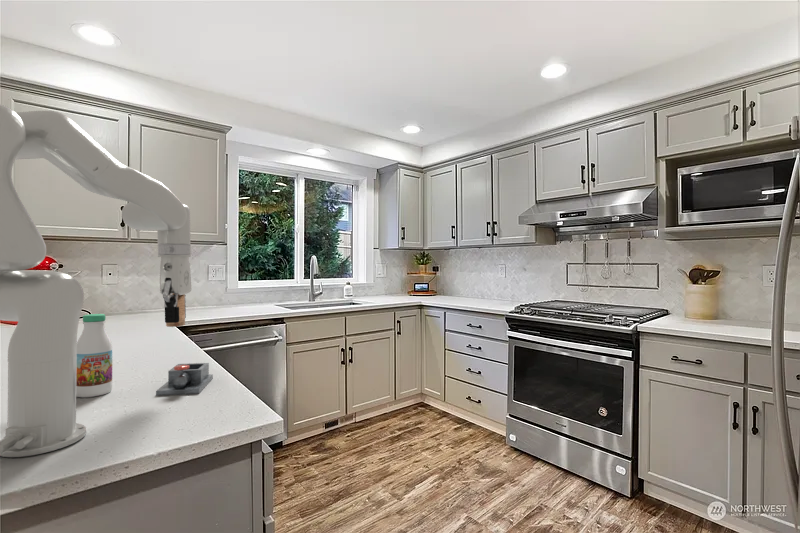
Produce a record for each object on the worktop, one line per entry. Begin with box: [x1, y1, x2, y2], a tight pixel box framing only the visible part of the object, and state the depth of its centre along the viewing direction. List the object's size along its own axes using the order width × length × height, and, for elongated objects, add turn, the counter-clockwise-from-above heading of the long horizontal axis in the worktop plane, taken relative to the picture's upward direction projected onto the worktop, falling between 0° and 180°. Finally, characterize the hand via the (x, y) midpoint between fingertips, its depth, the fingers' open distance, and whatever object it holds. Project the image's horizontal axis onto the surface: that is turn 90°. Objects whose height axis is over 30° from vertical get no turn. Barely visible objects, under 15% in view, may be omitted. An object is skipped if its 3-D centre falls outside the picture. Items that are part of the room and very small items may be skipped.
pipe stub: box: [165, 294, 186, 328], centre depth 107 cm, size 4×4×8 cm
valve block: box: [155, 362, 214, 396], centre depth 110 cm, size 14×10×6 cm
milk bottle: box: [76, 313, 113, 398], centre depth 103 cm, size 8×8×20 cm
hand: (175, 320), depth 107 cm, fingers closed on pipe stub, 4 cm apart
